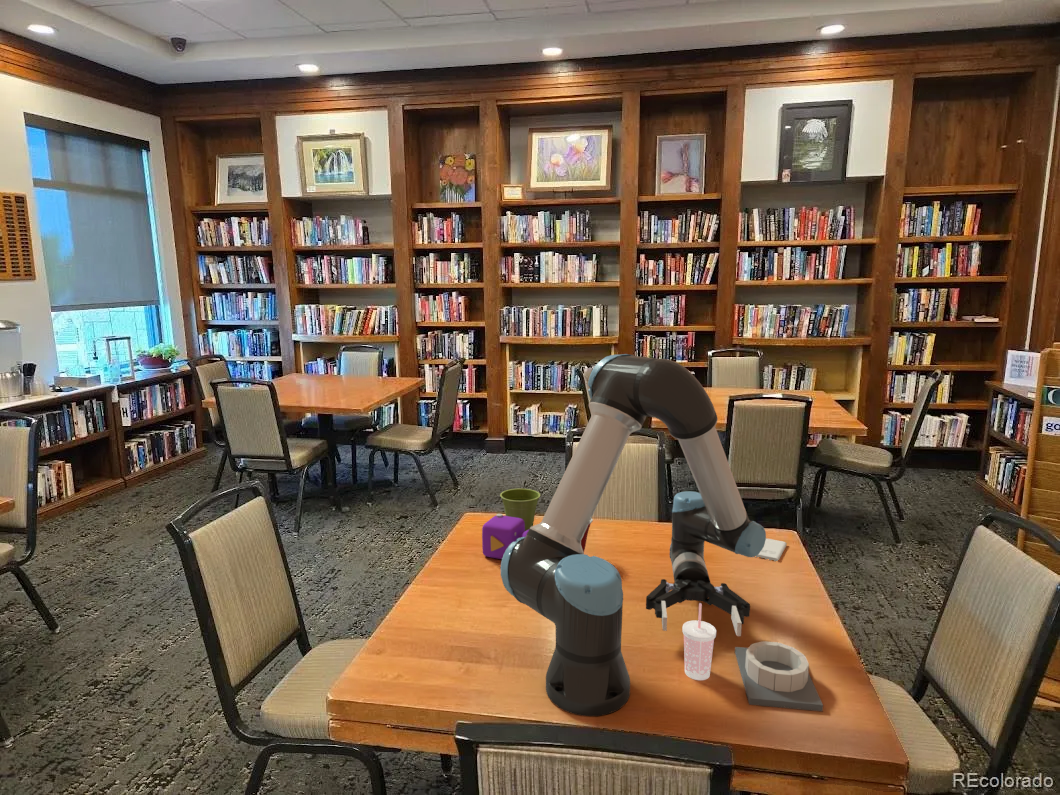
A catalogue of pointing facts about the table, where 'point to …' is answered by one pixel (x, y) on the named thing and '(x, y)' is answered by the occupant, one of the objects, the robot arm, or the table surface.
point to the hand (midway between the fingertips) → (701, 626)
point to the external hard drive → (772, 549)
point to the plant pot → (521, 504)
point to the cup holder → (777, 676)
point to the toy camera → (501, 534)
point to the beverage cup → (698, 647)
